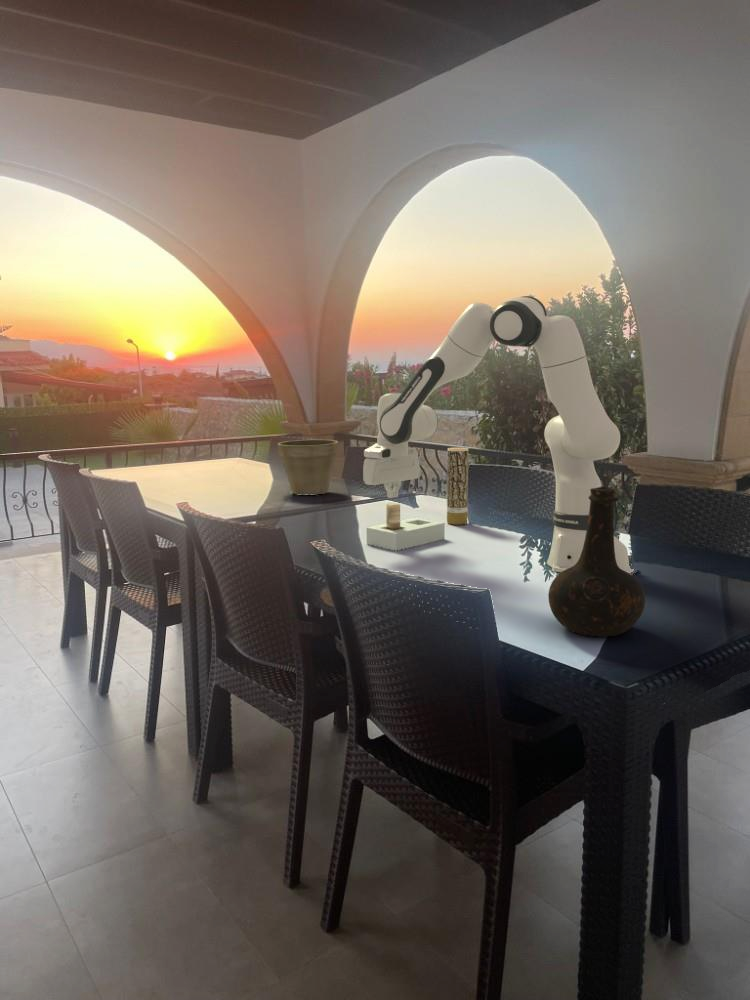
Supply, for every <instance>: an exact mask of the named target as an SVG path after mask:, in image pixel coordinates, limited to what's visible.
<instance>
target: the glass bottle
mask: <svg viewBox="0 0 750 1000" xmlns="http://www.w3.org/2000/svg"><path fill="white" fill-rule="evenodd" d="M590 491H591V495H590V496H589V500H590V510H589V518H588V525H587V531H586V537H585V541H584V546H583V549H582V552H581V555H580V558H579V560H578V562H577V563H576V564H575V565H574V566H572V567H570V568H568V569H566V570H564V571H562V572H559V573H558V574H557V575H556V576H555V577H554V579H553V580H552V582H551V584H550V586H549V589H548V595H547V596H548V604H549V607H550V611H551V613H552V614H553V616H554V618H555V619H556V621H557V622H558V623H559V624H560V625H561V626H562V627H564V628H565V629H567V630H568V631H571V632H572V633H576V634H579V635H582V634H583V635H584V636H587V635H589V636H588V637H594V636H596V637H597V638H604V637H605V638H607V637H608V636H610V637H616V636H618V635H619V636H620V635H622V634H623V633H625V632H627V631H628V630H630V628H633V626H634V625H635V624H636V623H637V622H638V621H639V619H640V618H641V616H642V614H643V612H644V609H645V606H646V593H645V591H644V590H645V589H643V586H642V585H641V583H640V581H638V579H637V578H636V577H635V576H634V575H631V574H629V573H628V572H626V571H624V570H622V569H620V568H619V567H618V565H617V562H616V558H615V549H614V536H615V534H614V533H615V532H614V529H615V525H614V524H615V523H614V522H615V521H614V517H615V515H614V513H615V512H614V511H615V502H618V501H620V498H619V497H617V496H615V495H616V489H615V488H612V487H608V486H601V487H598V488H591V489H590Z"/></svg>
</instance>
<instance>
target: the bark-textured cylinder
mask: <svg viewBox="0 0 750 1000" xmlns="http://www.w3.org/2000/svg"><path fill="white" fill-rule="evenodd" d="M446 458H447V461H446V462H447V465H446V466H447V469H446V473H447V475H446V477H447V478H446V479H447V480H446V522H447V524H448V525H451V526H462V525H466V524H467V523H468V510H469V509H468V508H469V507H468V503H469V502H468V501H469V447H448V448H447V457H446Z"/></svg>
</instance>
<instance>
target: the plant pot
mask: <svg viewBox="0 0 750 1000" xmlns="http://www.w3.org/2000/svg"><path fill="white" fill-rule="evenodd" d="M277 449H278V450H277V451H278V456H280V457H281V461H282V464H283V468H284V470H285V471H284V472H285V474H286V477H287V480H288V484H289V486H290V490H291V492H292V494H293V493H294V494H308V495H310V494H323V493H326V494H327V493H328V491H329V488H330V482H331V478H332V474H333V469H334V466H335V460H336V455H337V454H338V453H339V441H338V440H336V439H335V440H334V439H299V440H298V439H297V440H289V441H288V440H286V441H281V442H278V443H277ZM294 494H293V495H294ZM323 495H324V494H323Z"/></svg>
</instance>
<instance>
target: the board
mask: <svg viewBox="0 0 750 1000" xmlns="http://www.w3.org/2000/svg"><path fill="white" fill-rule="evenodd" d="M386 526H387V524H386V523H381V524H378V525H376V524H375V525H373V526H367V527H366V545H368V544H369V546H372V545H374V547H377V546H378V548H381V547H382V548H381V549H385V548H386V549H385V550H389V549H390V550H391V551H394V550H395V551H394V552H398V551H402V550H406V549H410V548H414V547H417V546H421V545H425V544H430V543H433V542H438V541H443V540H445V538H446V537H445V536H446V535H445V534H446V533H445V526H446V525H445V522H442V521H438V520H431V519H425V518H420V517H410V518H407V519H402V520H401V519H400V529H399V530H395V531H392V530H387V528H386ZM413 546H414V547H413ZM409 547H410V548H409ZM405 548H406V549H405ZM401 549H402V550H401ZM397 550H398V551H397Z"/></svg>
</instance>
